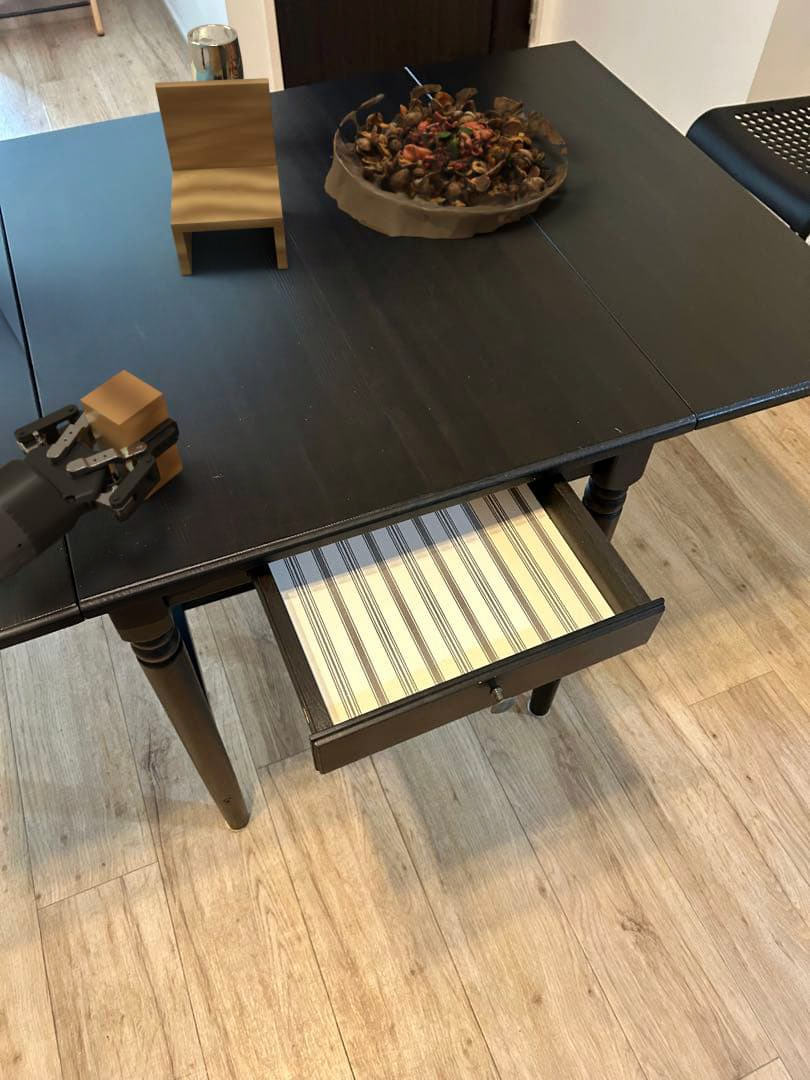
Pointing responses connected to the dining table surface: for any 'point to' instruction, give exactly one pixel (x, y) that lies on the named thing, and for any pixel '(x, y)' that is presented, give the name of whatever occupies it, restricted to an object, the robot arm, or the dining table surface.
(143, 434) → the kraft box
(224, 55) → the silver metal cylinder
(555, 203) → the dining table surface
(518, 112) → the food dish
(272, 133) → the miniature wooden chair
